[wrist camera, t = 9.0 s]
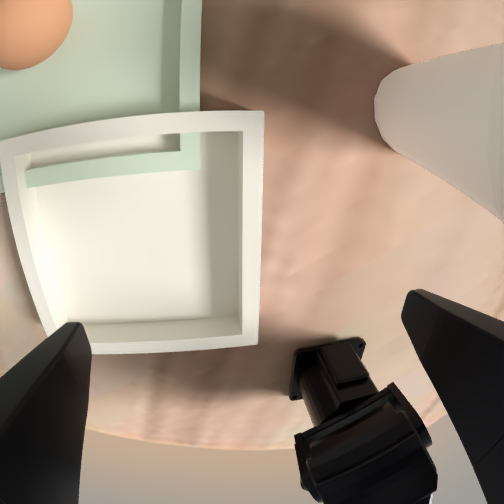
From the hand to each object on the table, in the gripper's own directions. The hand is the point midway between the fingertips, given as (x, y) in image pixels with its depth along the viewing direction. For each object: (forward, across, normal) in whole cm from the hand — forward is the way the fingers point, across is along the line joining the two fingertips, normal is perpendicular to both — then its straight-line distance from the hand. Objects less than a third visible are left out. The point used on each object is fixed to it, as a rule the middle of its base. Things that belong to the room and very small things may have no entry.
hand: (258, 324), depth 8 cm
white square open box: (+12, +5, +2) cm, 13 cm away
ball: (+9, +10, -11) cm, 17 cm away
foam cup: (+12, -13, -6) cm, 19 cm away
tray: (+12, +10, -11) cm, 19 cm away
